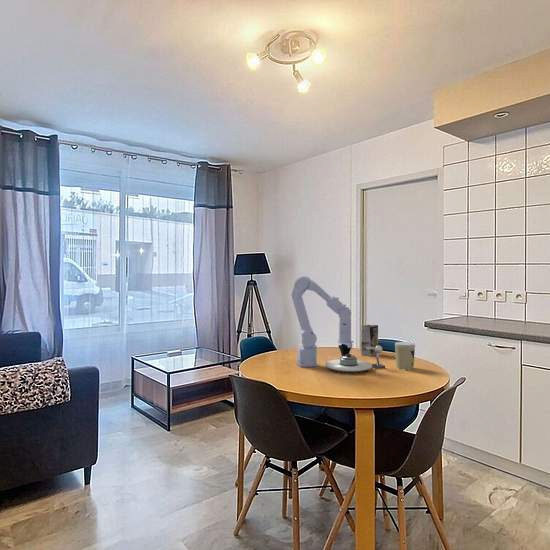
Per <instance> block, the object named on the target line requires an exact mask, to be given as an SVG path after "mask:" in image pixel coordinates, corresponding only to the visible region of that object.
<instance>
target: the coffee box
mask: <svg viewBox="0 0 550 550" xmlns="http://www.w3.org/2000/svg"><path fill="white" fill-rule="evenodd" d="M360 330H361V336H360V337H361V338H360V342H361V345H360V346H361V350H360V351H361V352H360V355H361V356H368V357H372V356H375V355H376V356H377V352H376V351H375V349H366V347H376V346H378V345H379V325H378V324H377V325H376V324H365V325H361V329H360Z"/></svg>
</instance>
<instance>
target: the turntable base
mask: <svg viewBox="0 0 550 550" xmlns="http://www.w3.org/2000/svg"><path fill="white" fill-rule="evenodd" d="M329 370H330V371H331V370H332V371H331V372H334V371H335V372H334V373H338V372H340V373H339V374H346V373H349V374H350V375H352V374H353V375H354V374H355V375H356V373H357V374H363V372H364V373H367V372H368V371H367V370H364V371H340V370H334V369H330V368H329ZM366 371H367V372H366ZM349 374H348V375H349Z"/></svg>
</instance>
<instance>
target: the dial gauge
mask: <svg viewBox="0 0 550 550" xmlns="http://www.w3.org/2000/svg"><path fill="white" fill-rule="evenodd" d="M366 349H375V351H376V352H377V354H376V363H371V364H372V368H373V369H374V368H375V370H378V369H377V368H384V369H386V365H384V364H382V363H380V354H381V353H382V352H383V347H382V345H379V344H378V346H376V347H366Z"/></svg>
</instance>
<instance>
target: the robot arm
mask: <svg viewBox="0 0 550 550" xmlns="http://www.w3.org/2000/svg"><path fill="white" fill-rule="evenodd" d="M306 291H311V292H314V293H316V294H317V295H318V296H319V297H320V298H322V299H323V300H324V301H325V302H326V306H327V307H328V308H329V309H330V310H332V312H333V313H335V314H337V315H338V318H339V323H338V339H337V343H338V344H339V345H338V348H339V351H340V353H341V355H340V356H341V357H342V356H343V355H346V354H350V352H351V350H352V349H353V344H354V341H353V340H352V322H351V321H352V320H351V316H352V311H351V309H350V308H349V307H348V306H347V305H346V304H344V303H343V302H341V301H340V300H339V297H336V296H331V295H329V293H327V292H326V291H325V290H324V289H323V288H322V287H321V286H320V285H319V284H318V283H317V282H315V281H314V280H312V279H311V278H310V277H308V276H299V278H297V279H296V280H295V282H294V284H293V289H292V291H291V298H292V302H293V304H294V309H295V313H296V316H297V319H298V323H299V326H300V331H301V333H300V334H301V344H302V346H301V347H298V348H297V351H296V356H297V357H296V359H297V362H296V364H297V365H298V366H299V367H301V368H304V367H305V368H309V367H320V364H319V363H317V361H318V360H317V345H316V343H317V340H318V339H317V335H316V334H315V333H314V330H313V328H312V326H311V324H310V320H309V315H308V313H307V309H306V306H305V303H304V299H303V295H305V292H306Z"/></svg>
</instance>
